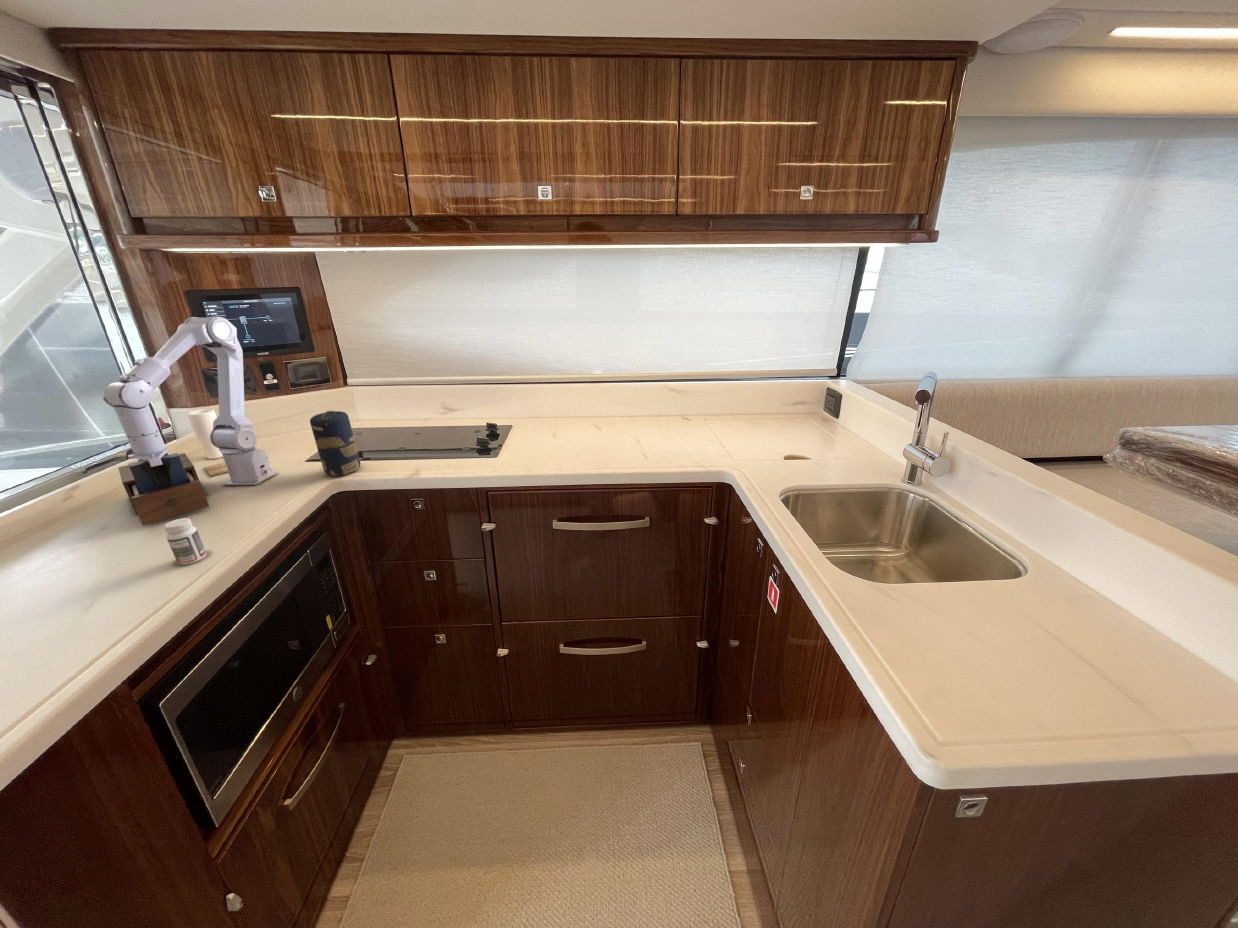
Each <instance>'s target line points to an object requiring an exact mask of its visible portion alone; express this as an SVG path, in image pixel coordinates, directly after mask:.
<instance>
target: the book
mask: <svg viewBox="0 0 1238 928" xmlns="http://www.w3.org/2000/svg"><path fill="white" fill-rule="evenodd" d="M178 454H179V453H178V452H175V453H171V454H168V455H166V456H163V457H161V461H164V460H168V459H171V466H170V477H171V483H172V487H173V486H177V485H181V484H185V483H189V480H188V477H187V475H186V472H185V470H184V467H183V465H182V462H181V459H180V457H179V455H178ZM144 463H149V461H145V460H143V461H138V460H137V461H134V462H129V463H128V464H127V465H129V468H130V470H131V472H132V475H133V477H134V479H135V481H136V484H137V486H138V488H139V491H140V493H141V494H145V493H149V492H153V491H157V490H160V489H159V488H158V487H157V485H156V484H155V482H154V481H153V479H152V478H151V477H150V476H149V475H148V474H147V473H146V472H145V471H144V470H142V469H141V468H140V466H139V464H144Z"/></svg>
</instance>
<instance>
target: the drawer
mask: <svg viewBox="0 0 1238 928" xmlns="http://www.w3.org/2000/svg"><path fill="white" fill-rule="evenodd" d="M185 472H186V475H187V477H188V480H189V483H185V484H181V485H177V486H173V487H169V488H165V489H161V490H157V491H153V492H149V493H145V494H141V493H140V491H139V488H138V486H137V484H136V483H132V484H131V485H132V489H133V492H134V495H135V496H133V497H131V500H132V502H133V504H134V507H135V509H136V511H137V513H138V514H137V516H138V518H139V520H140V523H141V525H142V526H145V525H149V524H152V523H155V522H159V521H163V520H166V519H170V518H174V517H177V516H180V515H184V514H188V513H191V512H195V511H198V510H202V509H205V508H210V504H209V501H208V499H207V496H206V494H205V491H204V488H203V485H202V484H201V481H200V479H199V480H197V481H195V480H194V478H193V477H192V475H191V474H190V472H189V471H188V470H187V471H185Z"/></svg>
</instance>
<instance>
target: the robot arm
mask: <svg viewBox="0 0 1238 928" xmlns="http://www.w3.org/2000/svg"><path fill="white" fill-rule="evenodd" d="M237 329H238V328H237V327H236V326H235V325H234V324H233V323H231V322H230V321H229V320H228V319H226V318H224V317H222V316H213V317H197V316H196V317H195V316H191V317H188V318H186V319H185V320H184V322H183V323H181V324H180V325H178V327H177V330H176V331H175V332H174V334H173V335H172V336H171V337H170V338H169V339H168V340H167V341H166V342H165V344H163V346H162V347H161V348H160V349H159V350H158V351H157V352H156V353H155V355H154V356H145V357H142V358H137V359H136V360H134V361H133V363H134V366H133V367H132V368H131V369H129V370H128V371H127V372H126V373H125V374H121V375H120V376H119V377H118V379H119V381H115V382H112V383H110V384H107V386H106V387H105V389H104V393H103V394H104V396H103V397H102V400H103V401H104V403H105V404H107V405H108V406H109V407H112V408H113V409H114V412H115V413H116V415H117V418H118V420H119V423H120V425H121V427H122V429H123V431H124V434H125V436H126V438H127V442H128V443H129V445H130V448H131V450H132V452H133V453H131V454H128V455H127V458H128V460H134V459H136V460H137V462H138V461H143V460H145V461H149V463H144V464H139V466H140V468H141V469H142V470H144V471H145V472H146V473H147V474H148V475H149V476H150V477H151V478H152V479H153V481H154V482H155V484H156V485H157V487H158V488H159V489H160V490H161V489H165V488H169V487H172V483H171V477H170V466H171V459H168V460H164V461H161V457H163V456H166V455H169V453H168V452H169V449H168V447H167V446H166V444H165V442H164V438H163V437H162V433H161V432H160V429H159V426H158V425H157V422H156V419H155V417H154V414H153V412H152V410H151V407H150V405H149V404H151V403H152V400H153V392H155V391H156V389H157V388H158V387H159V386H161V384H162V383H164V382H165V380H166V379H167V378H168V377H170V375H171V369H170V367H171V366H172V365H173V364H175V362H177V361H178V360H179V359H180V358H181V357H183V356H184V355H185V354H186V353H187V352H189V350H191V349H192V348H193V347H194V346H202V347H204V348H206V349H207V350H209V351H210V352H211V353H213V354H214V355H215V356H216V365H217V367H216V368H217V390H218V393H217V394H218V415H217V418H216V419H215V420H214V421H213V429H212V431H211V433H210V441H211V443H212V444H213V445H214V446H215V447H217V448H219V450H220V452H221V453H222V455H223V457H222V459H223V461H224V463H225V464H226V467H227V470H228V475H229V477H230V480H228V481H226V482H224V483H223V485H224V486H256V485H258V484H261V483H263V481H265V480H267V479H269V478H271V477H273V476H275V475H276V472H273V468H272V466H271V462H270V459H269V456H268V454H267V452H265V451H264V450H262V449H258V448H256V444H257V443H258V436H257V433H256V432H255V429H254V422H252V421H251V420H250V419H249V418H248V417H247V416H246V413H245V412H246V411H245V410H246V409H245V381H244V352H243V348H242V346H241V344H240V341H239V339H238V330H237Z"/></svg>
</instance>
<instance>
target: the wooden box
mask: <svg viewBox="0 0 1238 928" xmlns="http://www.w3.org/2000/svg"><path fill="white" fill-rule="evenodd" d="M178 455H179V457H180V459H181V462H182V465H183V467H184V470H185V471H187V470H188V471H189V472H190V474H191V475H192V477H193V478H194V480H195V481H197V480H199V481H200V477H199V475H198V473H197V470H196V468H195V465H194V463H192V461H191V460H190V458H189V457H188V455H187V454H186V453H185V452H183V453H178ZM118 472H119V476H120V479H121V483H122V485H123V488H124V490H125V492H126V494H127V496H128V499H129V501H130V503H131V506H132V508H133V510H134V513H135V515H138V513H137V511H136V509H135V507H134V504H133V502H132V500H131V497H133V496H135V495H134V492H133V489H132V485H131V484H132V483H136V481H135V479H134V477H133V475H132V472H131V470H130V468H129V465H128V464H127V465H122V466H119V467H118Z"/></svg>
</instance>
